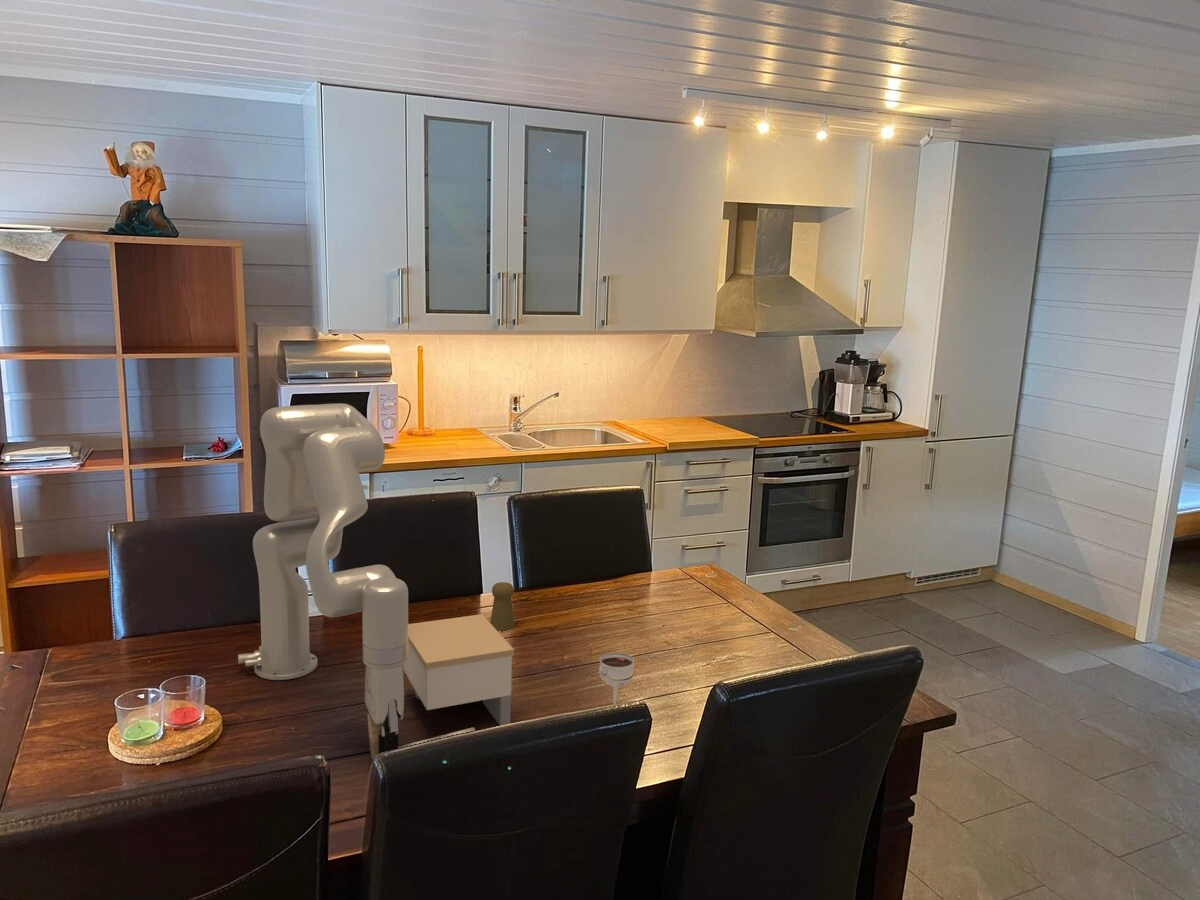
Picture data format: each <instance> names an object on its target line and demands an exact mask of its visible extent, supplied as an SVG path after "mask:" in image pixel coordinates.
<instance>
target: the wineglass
mask: <svg viewBox="0 0 1200 900" xmlns="http://www.w3.org/2000/svg"><path fill="white" fill-rule="evenodd" d="M599 663H600V664H599V667H598V673H599V678H600V679H601V680H602V681H603V682H604V683H605V684H606V685H608V686H610V687H611V688H612V689H613V692H612V693H613V700H612V702H613V704H616V705H617V699H618V689H619V688H620V687H624V686H625V685H627V684H628V683H629V682H630V681H632V679H633V676H634V674H635V668H634V663H635V659H634V658H633V656H630V655H629V654H627V653H622V652H608V653H604V654H603V655H601V656H600V658H599Z"/></svg>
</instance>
